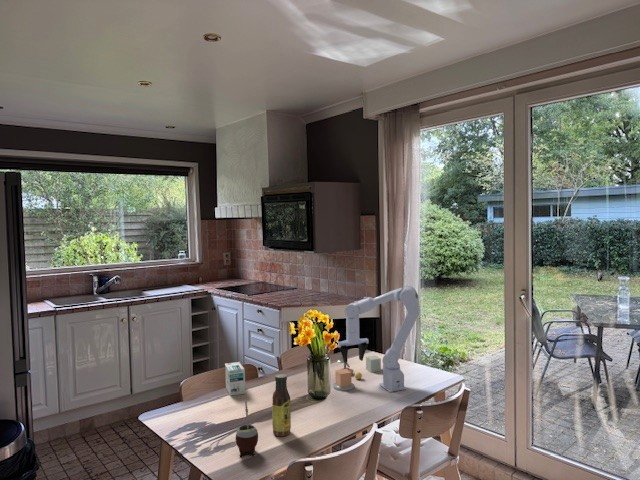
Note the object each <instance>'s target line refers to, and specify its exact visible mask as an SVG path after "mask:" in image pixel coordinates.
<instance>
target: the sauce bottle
mask: <svg viewBox="0 0 640 480" xmlns="http://www.w3.org/2000/svg"><path fill="white" fill-rule="evenodd" d="M287 380H288V375H287V374H284V373H281V374H276V375H275V377H274V381H275V390H274V391H273V393H272V405H271V407H272V409H271V410H272V414H271V415H272V416H271V417H272V421H271V422H272V432H273V435H274V436H276V437H285V436H286V437H287V436H288V435H290V433H291V428H292V426H291V425H292V424H291V423H292V421H291V419H292V417H291V416H292V414H291V406H292V405H291V396H290V394H289V390H288V386H287Z"/></svg>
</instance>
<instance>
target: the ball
mask: <svg viewBox="0 0 640 480" xmlns="http://www.w3.org/2000/svg"><path fill="white" fill-rule="evenodd" d="M354 378H355V379H356V380H361V379H362V378H363V375H362V373H361V372H360V371H356V372H355V373H354Z"/></svg>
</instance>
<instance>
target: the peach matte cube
mask: <svg viewBox="0 0 640 480" xmlns="http://www.w3.org/2000/svg"><path fill="white" fill-rule="evenodd" d="M334 371H335V374H334V375H335V379H334V380H335V383H336V385H338V386H339V387H340V388H343V387H349V386H352V372H350V371H349V370H347V369H344V368H341V369H335V370H334Z"/></svg>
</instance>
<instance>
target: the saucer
mask: <svg viewBox="0 0 640 480" xmlns="http://www.w3.org/2000/svg"><path fill="white" fill-rule="evenodd" d="M332 386H333V389H334V390H336V391H340V392H347V391H348V392H349V391H351V390H354V389H355V384H354V383H352V386H349V387H343V388H340V387H339V386H338V385H336V382H335V383H333V385H332Z"/></svg>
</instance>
